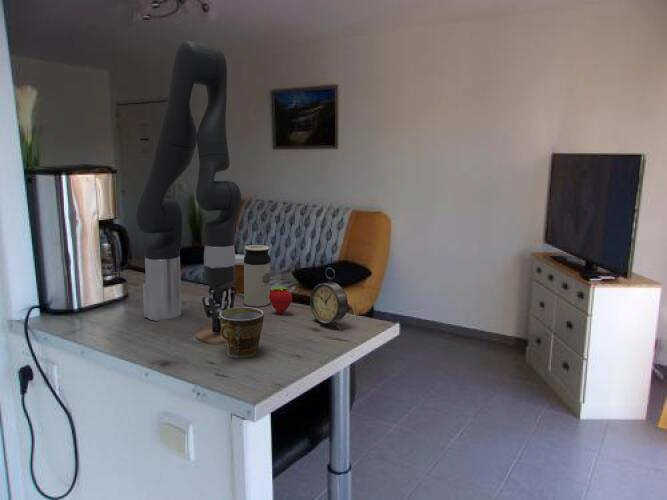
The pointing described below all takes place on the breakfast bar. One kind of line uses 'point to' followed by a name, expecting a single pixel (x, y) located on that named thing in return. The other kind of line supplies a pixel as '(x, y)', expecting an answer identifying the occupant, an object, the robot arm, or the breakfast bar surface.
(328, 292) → the alarm clock
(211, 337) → the lid
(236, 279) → the disposable coffee cup
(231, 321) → the ceramic cup
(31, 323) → the breakfast bar surface
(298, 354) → the breakfast bar surface
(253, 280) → the travel mug
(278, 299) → the strawberry
